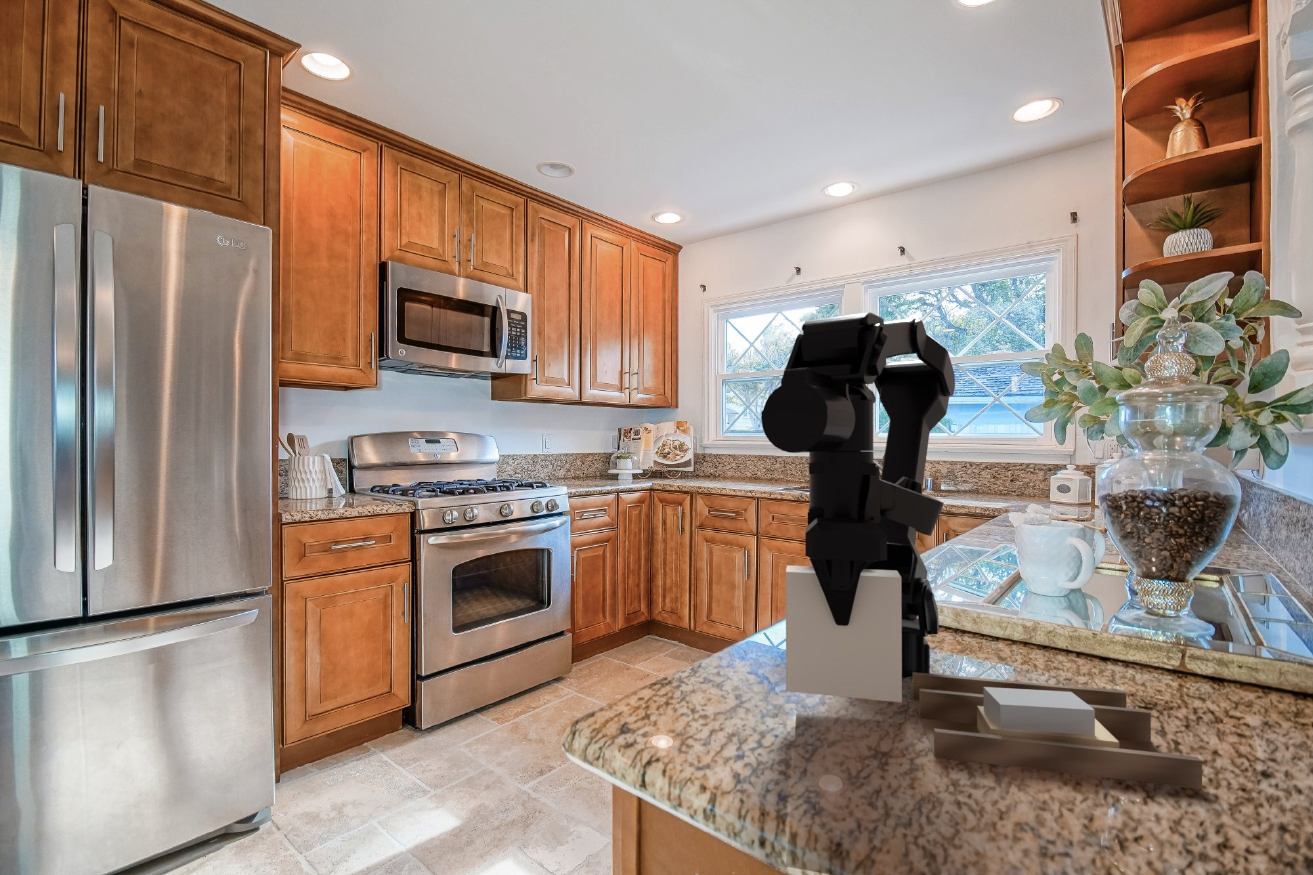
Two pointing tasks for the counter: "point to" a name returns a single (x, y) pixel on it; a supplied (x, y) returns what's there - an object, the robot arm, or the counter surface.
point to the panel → (844, 638)
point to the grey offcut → (1039, 711)
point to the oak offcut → (1047, 733)
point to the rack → (956, 737)
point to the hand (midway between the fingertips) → (841, 619)
